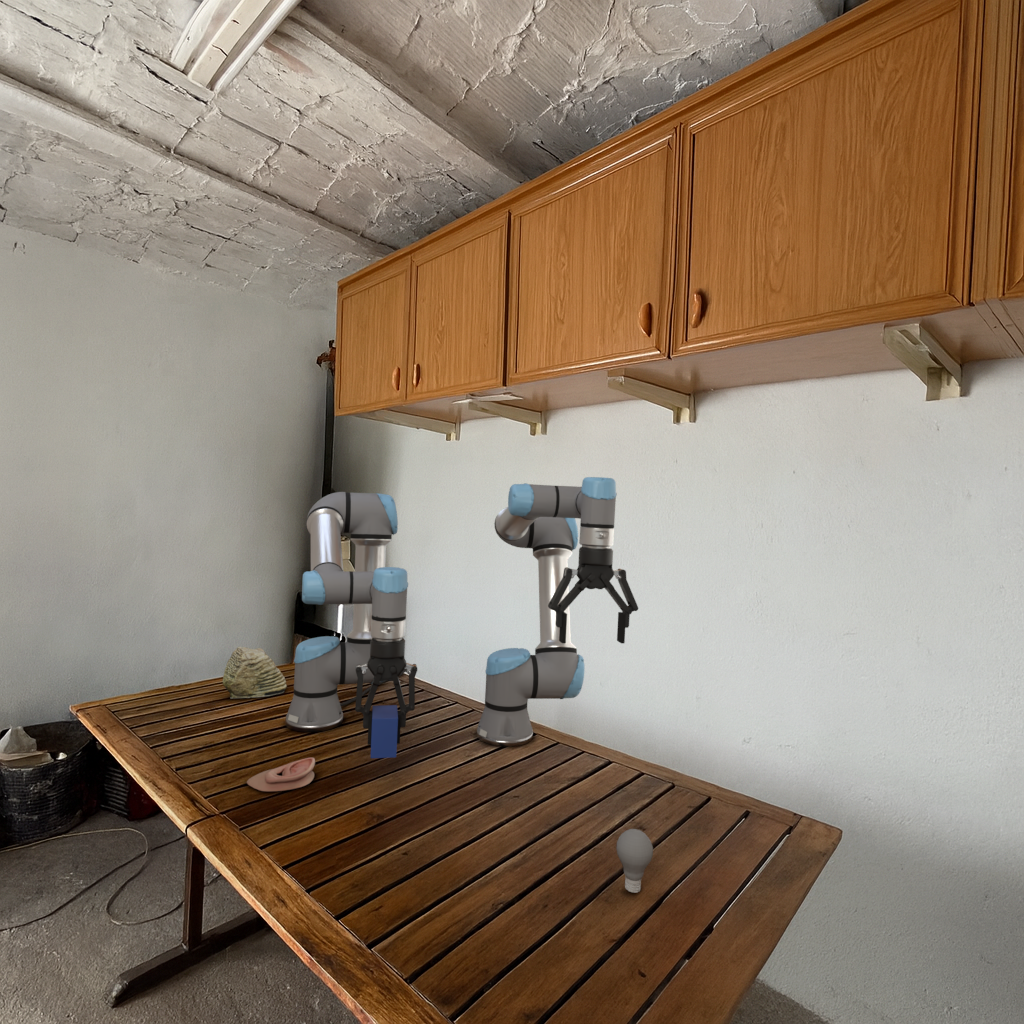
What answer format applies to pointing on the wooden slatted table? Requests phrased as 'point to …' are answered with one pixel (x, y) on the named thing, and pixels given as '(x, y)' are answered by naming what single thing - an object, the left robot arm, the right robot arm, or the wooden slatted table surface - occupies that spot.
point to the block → (384, 731)
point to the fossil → (252, 674)
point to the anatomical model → (284, 776)
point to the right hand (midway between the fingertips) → (591, 642)
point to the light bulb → (634, 857)
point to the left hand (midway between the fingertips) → (383, 741)
